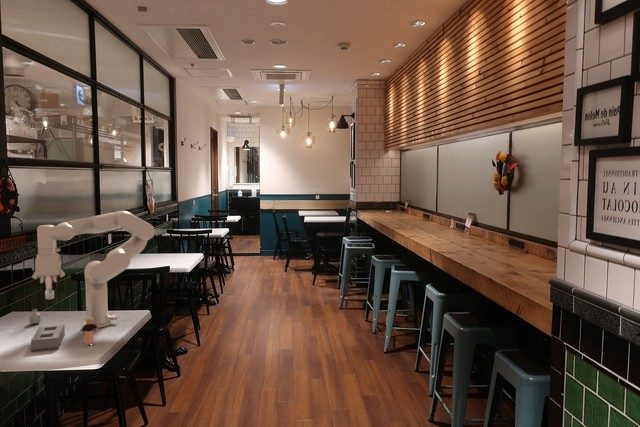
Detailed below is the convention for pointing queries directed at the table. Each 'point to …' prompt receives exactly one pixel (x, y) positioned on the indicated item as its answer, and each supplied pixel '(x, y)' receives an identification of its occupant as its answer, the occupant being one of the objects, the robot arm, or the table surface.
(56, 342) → the hole block
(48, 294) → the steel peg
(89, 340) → the grandmother figurine
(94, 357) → the table surface
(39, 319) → the reed diffuser
